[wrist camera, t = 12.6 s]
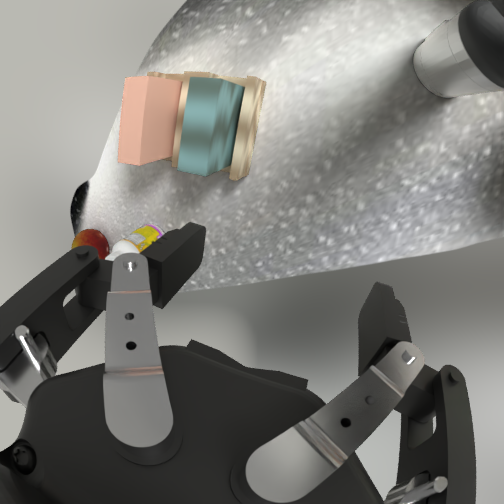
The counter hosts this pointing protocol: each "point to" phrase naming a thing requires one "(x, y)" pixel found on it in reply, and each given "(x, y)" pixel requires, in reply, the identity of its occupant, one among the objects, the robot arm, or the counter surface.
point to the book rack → (215, 123)
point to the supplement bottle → (136, 241)
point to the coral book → (148, 119)
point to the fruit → (92, 241)
